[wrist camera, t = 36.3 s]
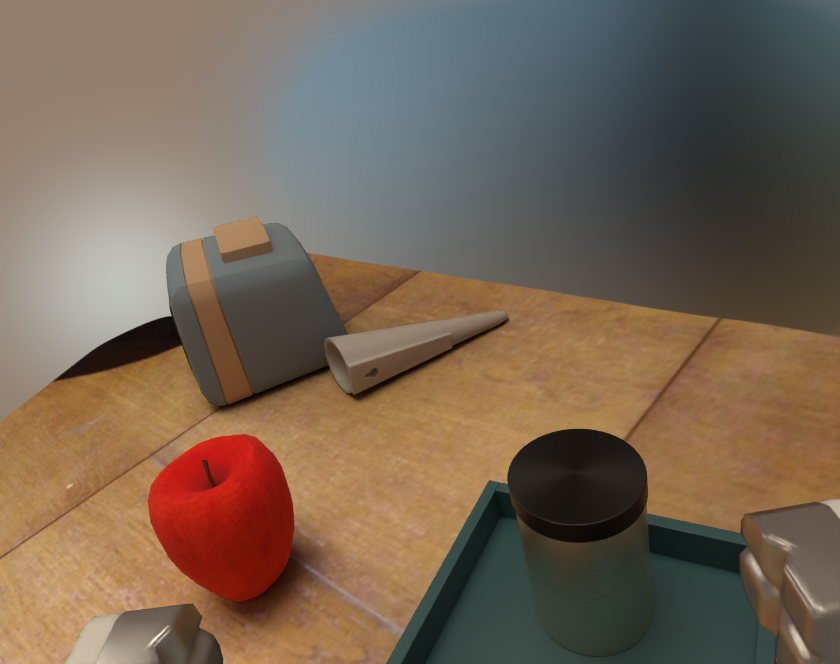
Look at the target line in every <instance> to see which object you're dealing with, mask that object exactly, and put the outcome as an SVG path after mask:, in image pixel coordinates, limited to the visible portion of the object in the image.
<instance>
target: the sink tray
mask: <svg viewBox="0 0 840 664" xmlns="http://www.w3.org/2000/svg"><path fill="white" fill-rule="evenodd" d="M647 519H648V535H649V551H650V567H651V583H652V599H653V615H652V620H651V623H650V626H649V628H648V630H647V632H646V633H645V634H644V636H643V637H642V638H641V639H640V640H639V641H638V642H637V643H636V644H635V645H633V646H632V647H630V648H628V649H627V650H625V651H622V652H620V653H617V654H612V655H607V656H590V655H584V654H580V653H576V652H574V651H571V650H569V649H567V648H565V647H563V646H562V645H560V644H559V643H557V642H556V641H555V640H554V639H552V638H551V637H550V636H549V635H548V633H547V632H546V631H545V630H544V628H543V627H542V625H541V623H540V621H539V619H538V616H537V613H536V609H535V604H534V599H533V594H532V589H531V584H530V580H529V575H528V570H527V565H526V560H525V555H524V550H523V546H522V541H521V536H520V531H519V526H518V521H517V516H516V512H515V510H514V508H513V505H512V502H511V497H510V492H509V487H508V484H505V483H499V482H495V481H490V480H489V482H488V483H487V485H486V487H485V489H484V490H483V492H482V494H481V496H480V498H479V499H478V501H477V503H476V505H475V507H474V508H473V510H472V512H471V514H470V515H469V517H468V519H467V521H466V523H465V524H464V526H463V528H462V530H461V531H460V533H459V535H458V537H457V539H456V540H455V542H454V544H453V546H452V547H451V549H450V551H449V553H448V555H447V556H446V558H445V560H444V562H443V563H442V565H441V567H440V569H439V571H438V572H437V574H436V576H435V578H434V580H433V581H432V583H431V585H430V587H429V588H428V590H427V592H426V594H425V596H424V597H423V599H422V601H421V603H420V604H419V606H418V608H417V610H416V612H415V613H414V615H413V617H412V619H411V620H410V622H409V624H408V626H407V628H406V629H405V631H404V633H403V635H402V637H401V638H400V640H399V642H398V644H397V645H396V647H395V649H394V651H393V653H392V654H391V656H390V658H389V660H388V661H387V663H386V664H774V663H775V650H776V635H775V634H773V633H772V632H770V631H769V630H767V629H766V628H765V627H763V626H762V625H760V624H759V622H758V620H757V619H756V617H755V615H754V613H753V611H752V609H751V607H750V604H749V602H748V599H747V597H746V594H745V592H744V588H743V584H742V580H741V575H740V554H741V553H742V552H743V551H744V550H745V549H746V547H747V546H748V545H747V544H746V542H745V540H744V538H743V537H742V535H741V533H737V532H732V531H727V530H723V529H718V528H713V527H709V526H704V525H699V524H694V523H690V522H685V521H680V520H675V519H671V518H666V517H661V516H656V515H652V514H647Z"/></svg>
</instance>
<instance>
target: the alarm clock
mask: <svg viewBox="0 0 840 664" xmlns="http://www.w3.org/2000/svg"><path fill="white" fill-rule="evenodd" d="M213 229H214V233H215V235H214V236H210V237H205V238H203V240H202V239H196V240H192V241H187V242H183V243H182V244H181V243H180V244H178V245H176V246H174V247H173V248H172V249H171V251H170V253H169V254H168V257H167V264H166V274H167V287H168V294H169V306H170V311H171V315H172V318H173V321H174V324H175V326H176V329H177V332H178V335H179V338H180V341H181V343H182V346H183V349H184V352H185V354H186V357H187V360H188V362H189V365H190V367H191V370H192V371H193V373H194V376H195V378H196V381H197V383H198V385H199V387H200V390H201V392H202V394H203V395H204V396H205V398H206V399H207V400H208V402H209V403H211V404H214V405H217V406H224V405H227V403H228V404H231V403H234V402H236V401H239V400H242V399H244V398H247V397H249V396H252V395H253V393H255V394H257V393H259V392H262V391H264V390H267V389H270V388H272V387H275V386H277V385H280V384H282V383H285V382H287V381H290V380H292V379H295V378H298V377H300V376H303V375H305V374H308V373H310V372H313V371H315V370H318V369H320V368H323V367H326V366H328V365H329V364H328V361H327V358H326V354H325V349H324V342H325V339H326V338H329V337H336V336H342V335H348V334H347V332H346V330H345V328H344V326H343V324H342V322H341V320H340V318H339V316H338V313H337V311H336V309H335V307H334V305H333V303H332V301H331V299H330V297H329V295H328V293H327V291H326V289H325V287H324V285H323V283H322V281H321V279H320V277H319V274H318V272H317V270H316V268H315V266H314V264H313V263H312V261H311V259H310V258H309V256H308V254H307V253H306V251H305V250H304V248H303V247H302V245H301V243H300V242H299V241H298V240H297V238H296V237H295V236H294V235H293V234H292V232H291V231H290V230H289V229H288V228H287V227H286V226H283V225H281V224H279V223H268V224H262V223H261V221H260V219H259V218H257V217H252V218H248V219H244V220H240V221H236V222H232V223H228V224H223V225H220V226H216V227H214V228H213Z"/></svg>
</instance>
